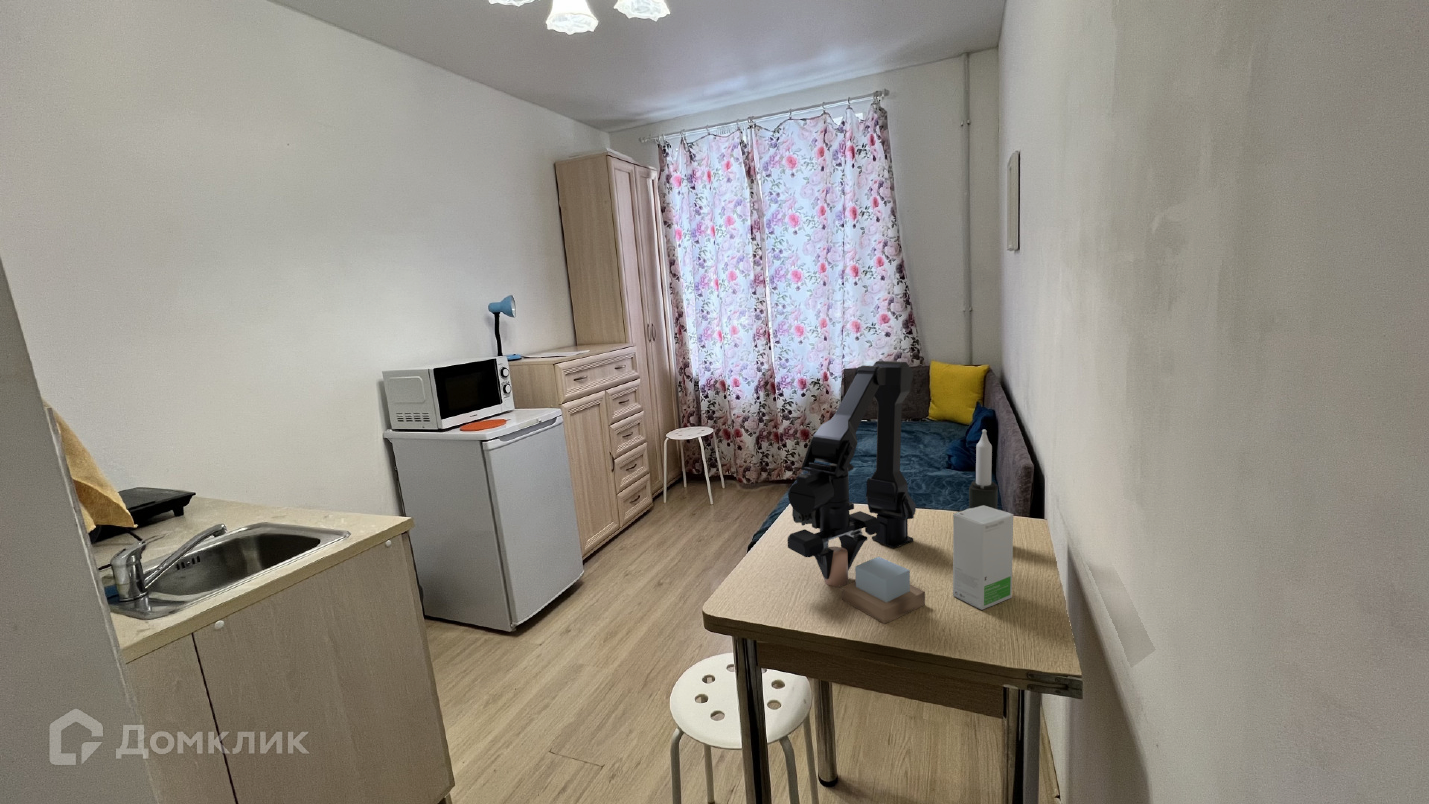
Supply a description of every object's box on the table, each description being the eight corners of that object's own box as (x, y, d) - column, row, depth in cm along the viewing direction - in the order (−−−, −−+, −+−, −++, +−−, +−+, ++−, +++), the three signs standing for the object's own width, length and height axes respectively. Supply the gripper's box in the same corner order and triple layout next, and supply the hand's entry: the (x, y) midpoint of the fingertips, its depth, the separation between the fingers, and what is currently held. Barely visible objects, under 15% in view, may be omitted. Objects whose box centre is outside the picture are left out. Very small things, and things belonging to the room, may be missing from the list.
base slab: (881, 583, 111) (881, 570, 110) (924, 604, 102) (924, 591, 102) (842, 599, 106) (842, 586, 106) (884, 624, 97) (884, 610, 97)
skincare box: (981, 611, 99) (982, 525, 96) (949, 595, 105) (950, 513, 102) (1013, 597, 103) (1016, 513, 100) (981, 582, 109) (982, 502, 106)
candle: (997, 541, 125) (999, 427, 121) (994, 550, 121) (996, 433, 117) (971, 537, 128) (973, 425, 123) (967, 546, 124) (968, 431, 119)
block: (878, 576, 108) (878, 556, 108) (909, 591, 102) (909, 569, 102) (855, 587, 105) (855, 566, 104) (886, 602, 99) (886, 580, 99)
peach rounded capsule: (836, 572, 116) (836, 544, 115) (853, 581, 112) (852, 552, 111) (819, 579, 114) (818, 550, 113) (835, 588, 110) (834, 559, 109)
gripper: (840, 477, 122) (842, 547, 124) (768, 497, 112) (772, 573, 115) (881, 490, 112) (882, 566, 115) (805, 514, 103) (808, 596, 106)
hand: (836, 574), depth 113 cm, fingers closed on peach rounded capsule, 5 cm apart
